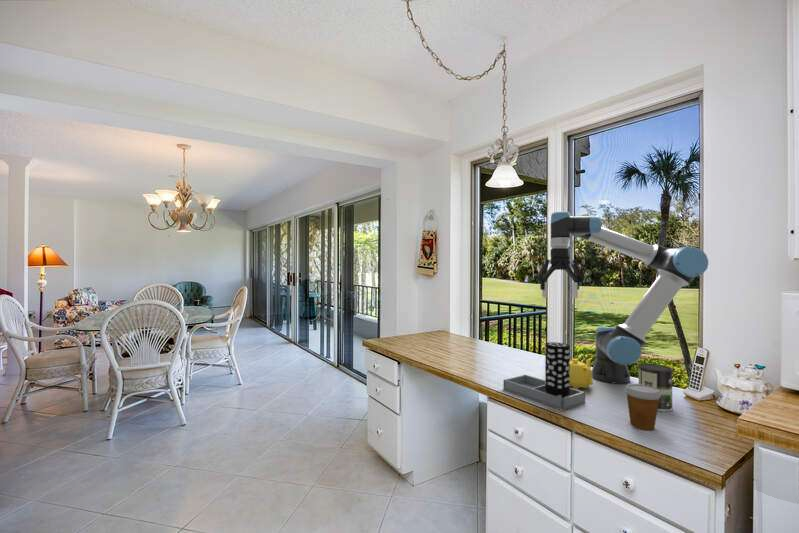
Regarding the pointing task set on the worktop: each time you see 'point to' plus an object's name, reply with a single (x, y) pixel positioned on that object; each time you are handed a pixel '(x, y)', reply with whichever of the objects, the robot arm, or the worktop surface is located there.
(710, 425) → the worktop surface
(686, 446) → the worktop surface
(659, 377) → the coffee can
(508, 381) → the gray divided tray
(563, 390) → the white-spotted black cylinder
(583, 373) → the teapot
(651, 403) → the disposable coffee cup
